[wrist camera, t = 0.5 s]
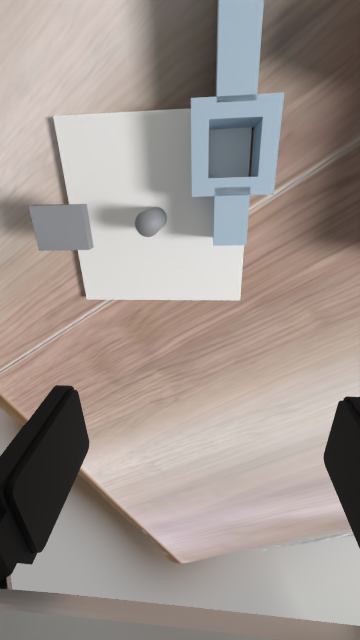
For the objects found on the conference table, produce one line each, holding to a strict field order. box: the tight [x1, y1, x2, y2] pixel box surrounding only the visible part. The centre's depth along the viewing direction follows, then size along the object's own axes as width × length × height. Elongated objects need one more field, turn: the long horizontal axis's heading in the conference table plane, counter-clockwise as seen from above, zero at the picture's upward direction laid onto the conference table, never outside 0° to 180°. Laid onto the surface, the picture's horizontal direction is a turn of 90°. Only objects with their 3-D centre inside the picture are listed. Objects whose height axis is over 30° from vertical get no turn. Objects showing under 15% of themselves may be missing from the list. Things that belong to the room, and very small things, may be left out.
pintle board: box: [28, 108, 252, 300], centre depth 29 cm, size 20×20×8 cm
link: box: [191, 0, 284, 246], centre depth 25 cm, size 21×7×5 cm, turn 2°
